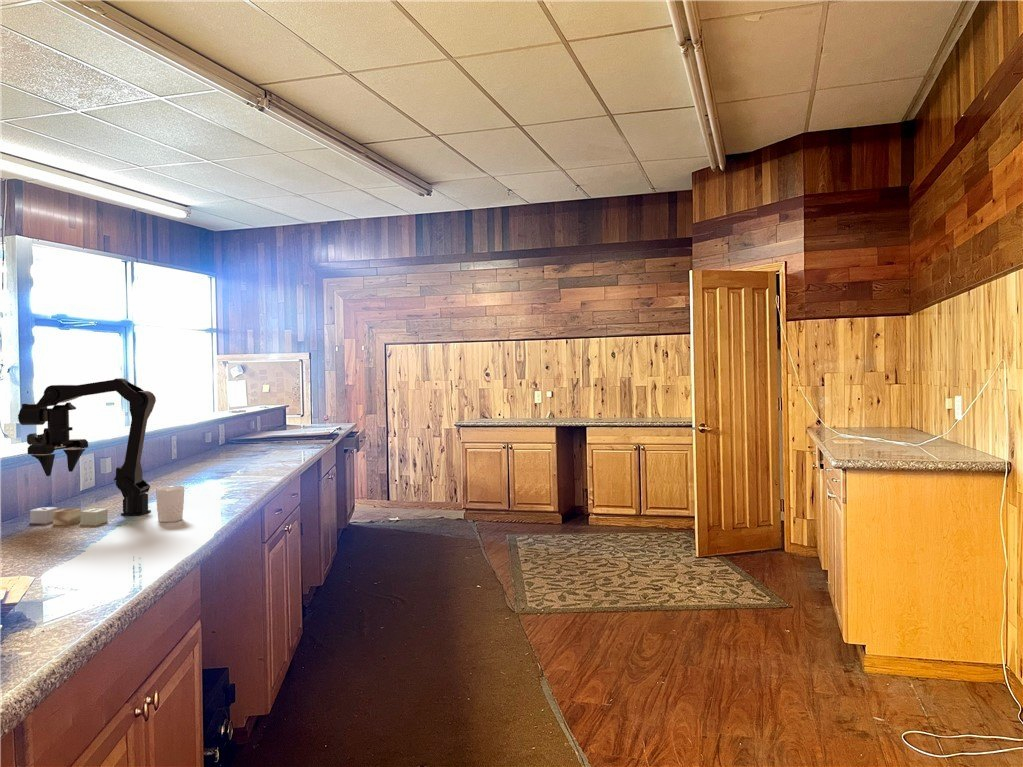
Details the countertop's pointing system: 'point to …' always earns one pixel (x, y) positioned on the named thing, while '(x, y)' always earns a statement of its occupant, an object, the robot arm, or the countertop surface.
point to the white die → (42, 515)
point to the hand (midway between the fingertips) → (59, 473)
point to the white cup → (170, 503)
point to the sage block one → (94, 516)
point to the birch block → (66, 516)
